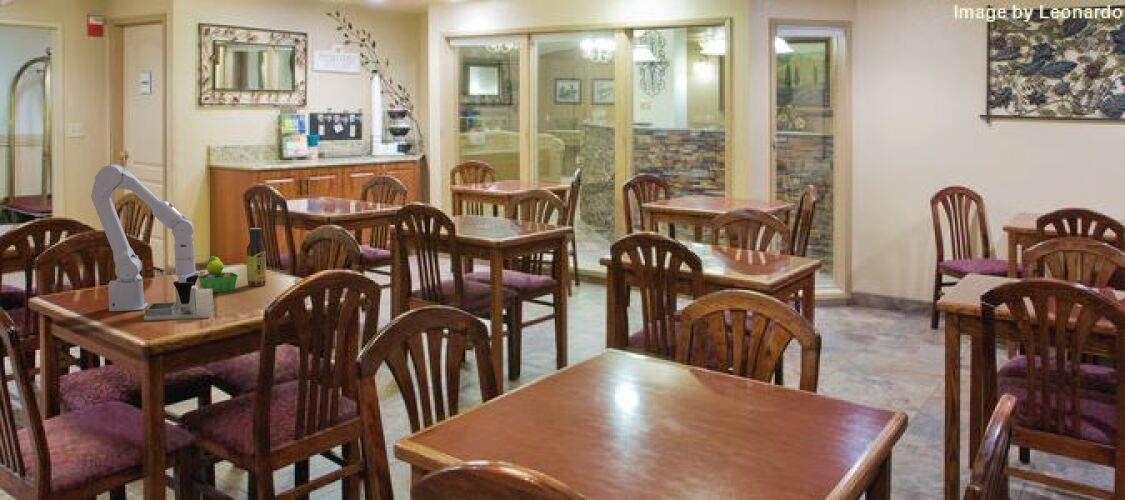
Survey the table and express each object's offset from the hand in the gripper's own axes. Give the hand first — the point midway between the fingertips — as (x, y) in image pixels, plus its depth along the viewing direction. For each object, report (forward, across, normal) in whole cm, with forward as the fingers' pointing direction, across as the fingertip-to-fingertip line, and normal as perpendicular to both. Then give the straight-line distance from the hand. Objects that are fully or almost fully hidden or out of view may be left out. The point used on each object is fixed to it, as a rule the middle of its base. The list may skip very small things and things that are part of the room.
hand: (187, 301), depth 283 cm
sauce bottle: (+2, +29, -18) cm, 34 cm away
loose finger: (+2, 0, 0) cm, 2 cm away
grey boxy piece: (+1, -13, 0) cm, 13 cm away
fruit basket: (+2, +23, -6) cm, 24 cm away
